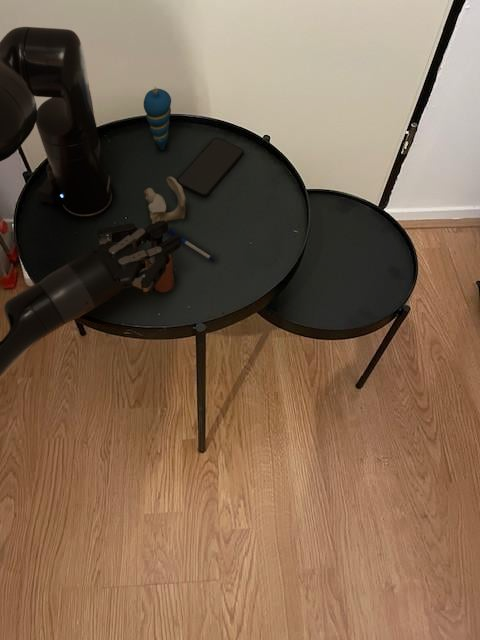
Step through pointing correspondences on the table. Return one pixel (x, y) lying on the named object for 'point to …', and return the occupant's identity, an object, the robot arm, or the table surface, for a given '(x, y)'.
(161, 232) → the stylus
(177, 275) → the table surface
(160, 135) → the ornament
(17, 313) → the robot arm
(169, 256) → the pen cup
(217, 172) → the smartphone
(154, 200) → the bone
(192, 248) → the ballpoint pen
